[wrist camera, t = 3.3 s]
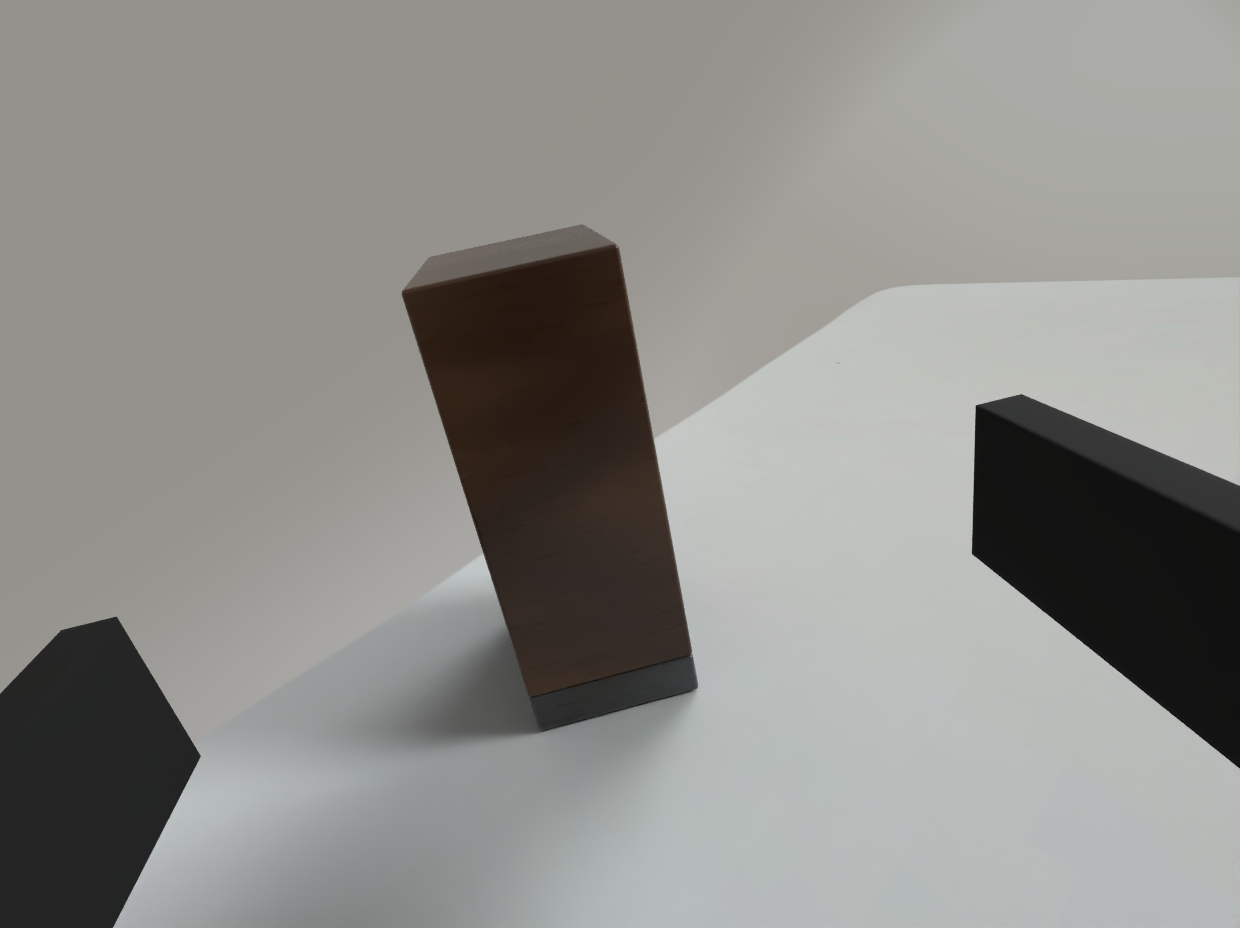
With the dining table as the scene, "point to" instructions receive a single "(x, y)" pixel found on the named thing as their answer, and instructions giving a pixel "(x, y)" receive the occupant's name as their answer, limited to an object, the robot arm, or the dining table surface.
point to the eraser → (558, 465)
